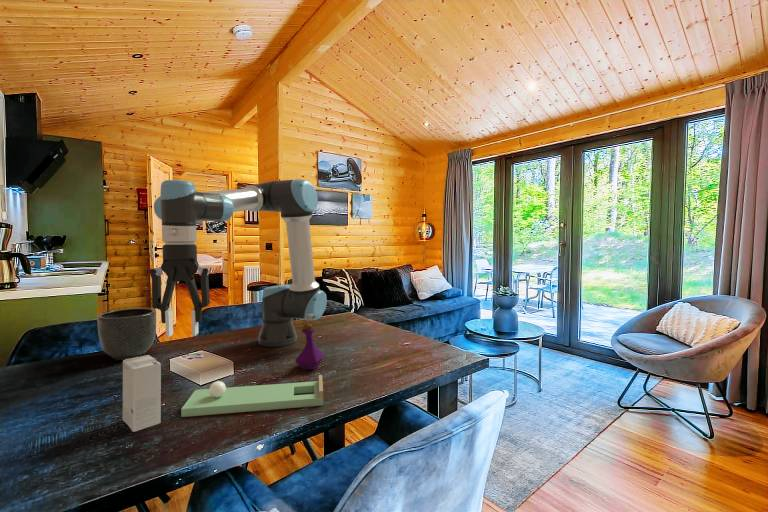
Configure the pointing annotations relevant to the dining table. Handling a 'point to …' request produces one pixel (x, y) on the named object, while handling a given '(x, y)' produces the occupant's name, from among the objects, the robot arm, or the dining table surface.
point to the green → (255, 398)
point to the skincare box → (141, 392)
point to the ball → (217, 389)
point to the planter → (127, 332)
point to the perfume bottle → (309, 349)
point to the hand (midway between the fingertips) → (182, 334)
